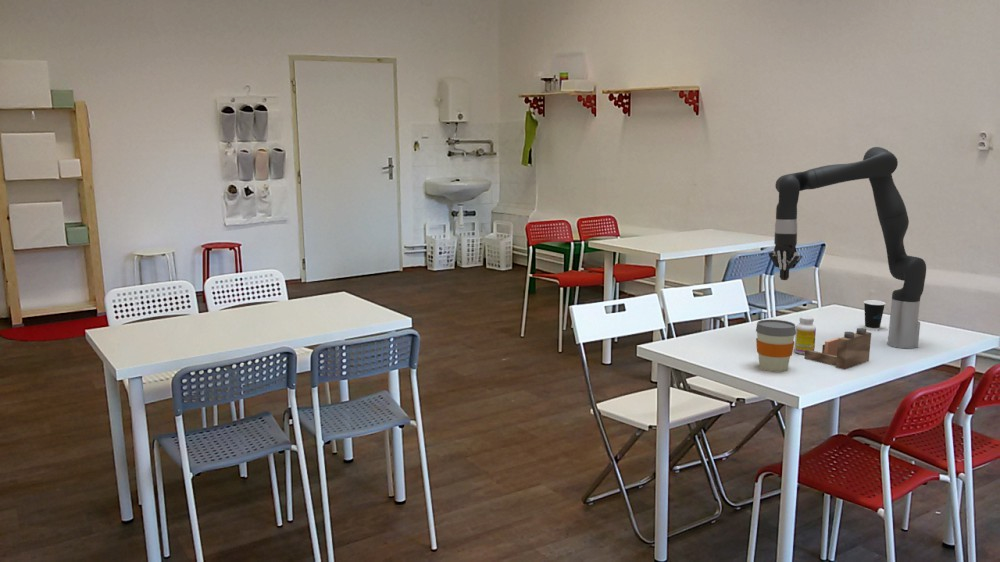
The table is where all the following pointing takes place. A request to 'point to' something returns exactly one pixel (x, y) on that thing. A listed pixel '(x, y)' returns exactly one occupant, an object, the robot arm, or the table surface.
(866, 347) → the cradle
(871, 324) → the dixie cup
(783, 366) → the reusable coffee cup
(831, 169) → the robot arm
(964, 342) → the table surface
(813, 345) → the supplement bottle
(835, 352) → the plate
